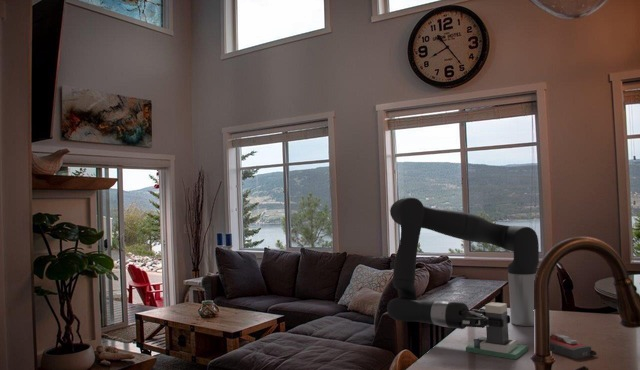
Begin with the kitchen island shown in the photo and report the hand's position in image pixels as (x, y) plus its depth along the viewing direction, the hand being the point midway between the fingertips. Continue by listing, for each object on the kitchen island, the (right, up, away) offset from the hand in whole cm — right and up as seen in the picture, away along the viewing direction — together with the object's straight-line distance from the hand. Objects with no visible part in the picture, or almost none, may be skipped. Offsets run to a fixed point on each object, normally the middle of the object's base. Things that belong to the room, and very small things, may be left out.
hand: (506, 321), depth 138 cm
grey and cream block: (-2, -7, +1) cm, 7 cm away
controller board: (-2, -9, +3) cm, 10 cm away
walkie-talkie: (+17, -9, +2) cm, 19 cm away
